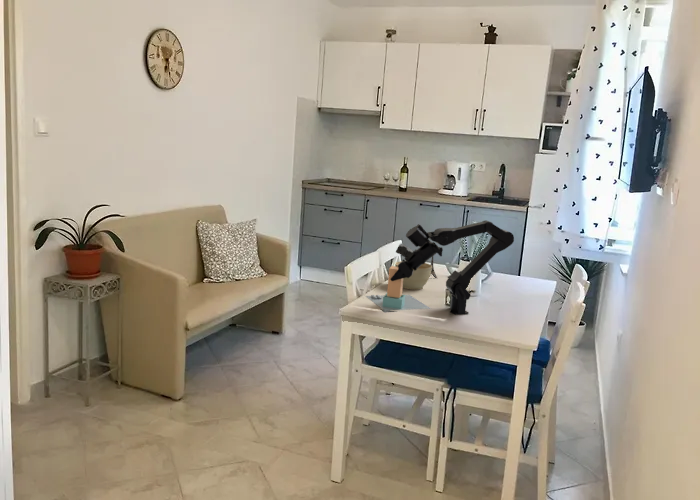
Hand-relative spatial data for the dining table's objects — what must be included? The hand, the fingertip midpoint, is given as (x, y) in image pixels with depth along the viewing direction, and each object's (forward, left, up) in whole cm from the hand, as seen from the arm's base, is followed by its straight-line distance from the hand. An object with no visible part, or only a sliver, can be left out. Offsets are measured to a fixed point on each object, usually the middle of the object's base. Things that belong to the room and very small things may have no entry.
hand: (392, 278), depth 239 cm
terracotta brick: (-1, -1, -7) cm, 7 cm away
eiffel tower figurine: (+46, -41, -12) cm, 63 cm away
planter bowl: (+26, -22, -12) cm, 36 cm away
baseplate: (+3, -5, -11) cm, 13 cm away
